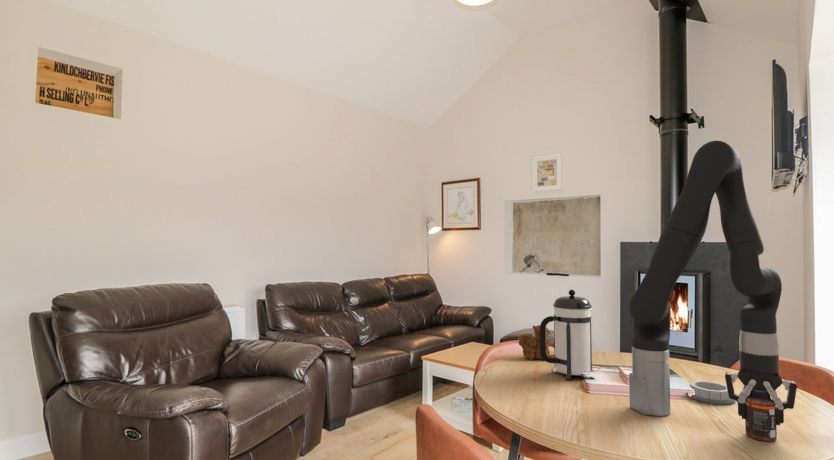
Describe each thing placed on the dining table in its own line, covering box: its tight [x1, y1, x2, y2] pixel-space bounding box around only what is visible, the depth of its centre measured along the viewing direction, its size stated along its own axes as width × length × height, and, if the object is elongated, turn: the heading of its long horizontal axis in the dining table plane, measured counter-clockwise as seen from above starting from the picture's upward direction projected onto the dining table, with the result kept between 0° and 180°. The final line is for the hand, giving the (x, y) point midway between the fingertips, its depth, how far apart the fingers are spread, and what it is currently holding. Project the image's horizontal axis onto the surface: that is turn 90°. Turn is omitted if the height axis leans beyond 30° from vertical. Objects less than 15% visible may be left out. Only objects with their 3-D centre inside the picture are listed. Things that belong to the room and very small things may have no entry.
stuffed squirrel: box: [517, 324, 555, 361], centre depth 182 cm, size 10×14×13 cm
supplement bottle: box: [744, 389, 778, 442], centre depth 108 cm, size 6×6×11 cm
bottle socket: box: [689, 380, 736, 406], centre depth 135 cm, size 12×12×4 cm
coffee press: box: [539, 289, 594, 382], centre depth 158 cm, size 17×16×30 cm
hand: (760, 420), depth 108 cm, fingers closed on supplement bottle, 6 cm apart
